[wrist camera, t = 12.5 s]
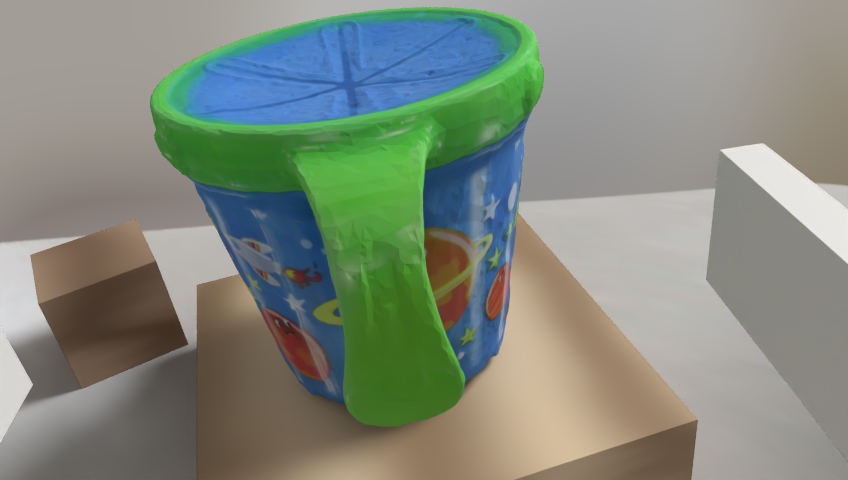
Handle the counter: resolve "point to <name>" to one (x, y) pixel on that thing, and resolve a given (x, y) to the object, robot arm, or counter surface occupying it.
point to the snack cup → (366, 192)
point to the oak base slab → (462, 424)
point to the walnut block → (106, 302)
